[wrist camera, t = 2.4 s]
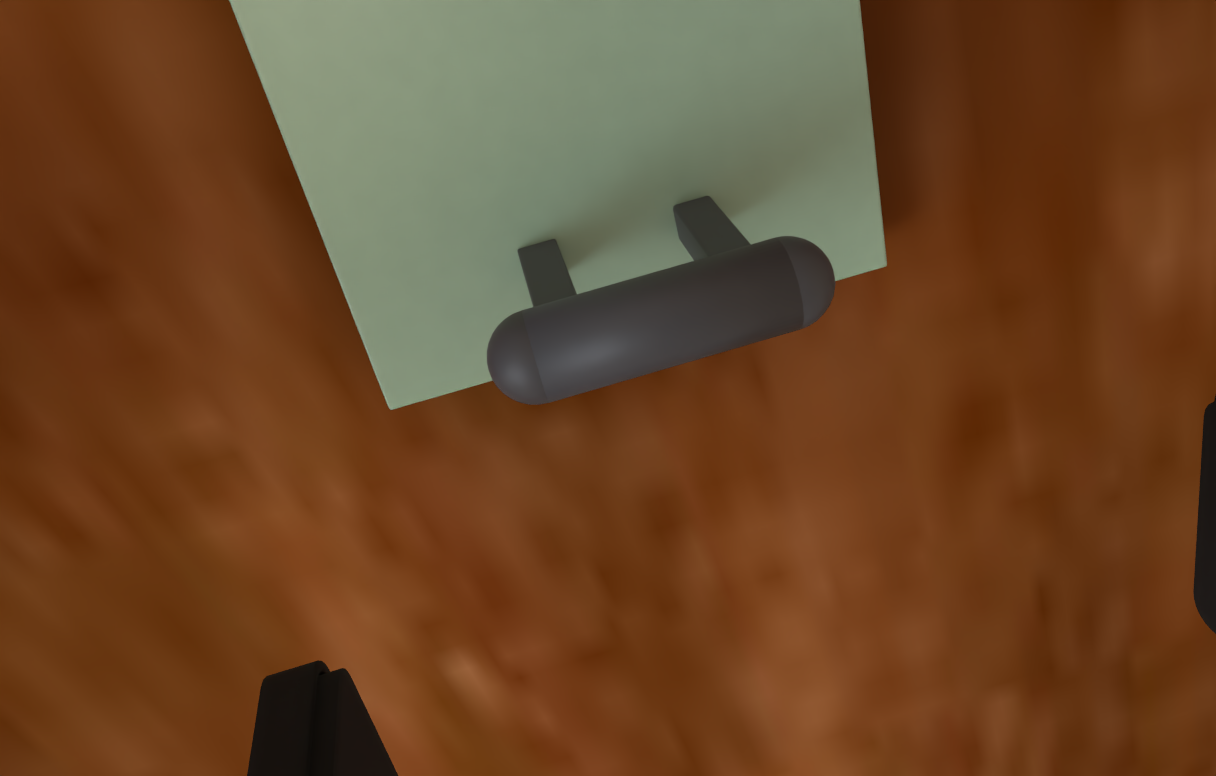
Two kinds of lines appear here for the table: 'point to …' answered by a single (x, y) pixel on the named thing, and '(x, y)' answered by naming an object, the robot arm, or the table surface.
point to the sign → (574, 177)
